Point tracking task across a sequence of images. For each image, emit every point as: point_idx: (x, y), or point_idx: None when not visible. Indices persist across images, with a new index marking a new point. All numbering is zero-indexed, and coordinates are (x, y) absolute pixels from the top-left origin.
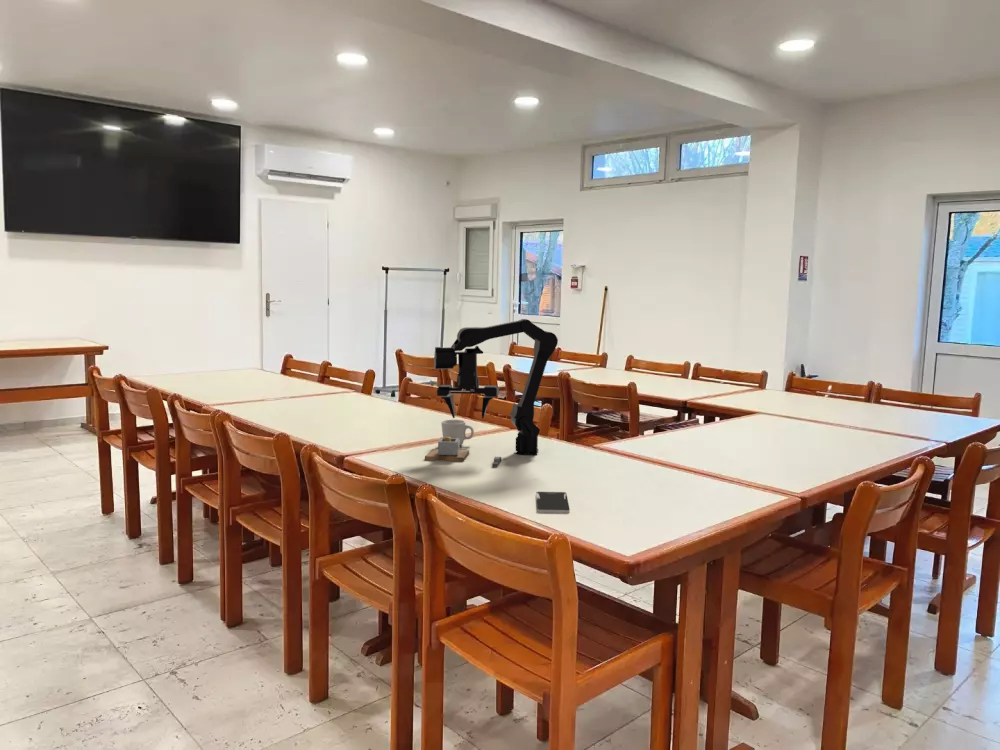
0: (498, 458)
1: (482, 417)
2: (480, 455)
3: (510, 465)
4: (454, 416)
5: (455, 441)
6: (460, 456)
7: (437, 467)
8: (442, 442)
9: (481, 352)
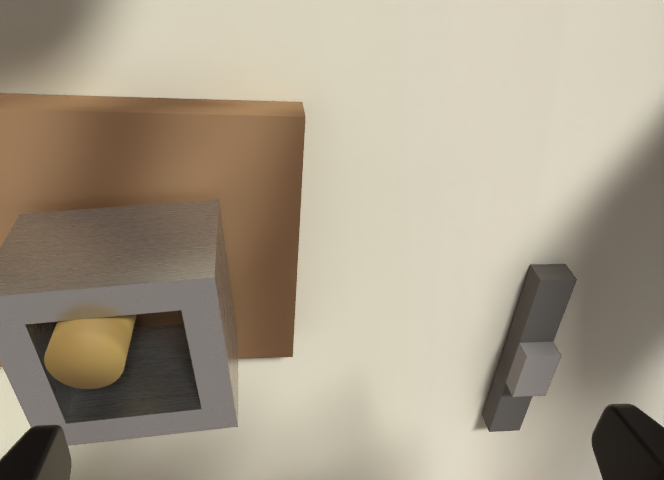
0: (543, 391)
1: (602, 460)
2: (410, 138)
3: (597, 366)
4: (61, 467)
5: (206, 404)
6: (261, 332)
7: (150, 467)
8: (86, 439)
9: None
